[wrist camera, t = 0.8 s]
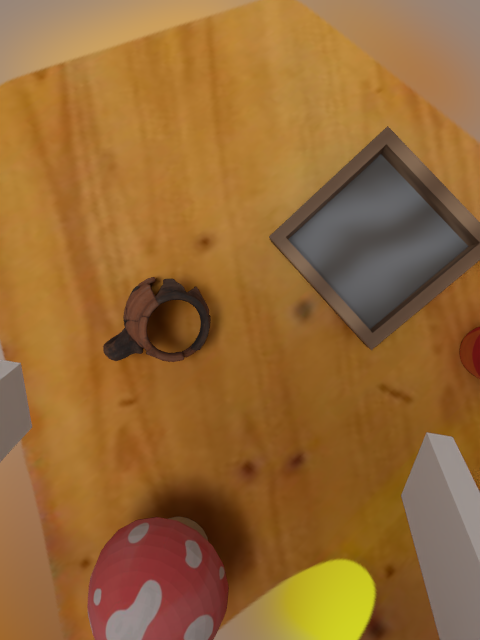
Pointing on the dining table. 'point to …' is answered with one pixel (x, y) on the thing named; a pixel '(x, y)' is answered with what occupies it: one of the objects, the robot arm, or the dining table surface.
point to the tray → (380, 239)
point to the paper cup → (471, 352)
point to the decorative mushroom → (158, 583)
